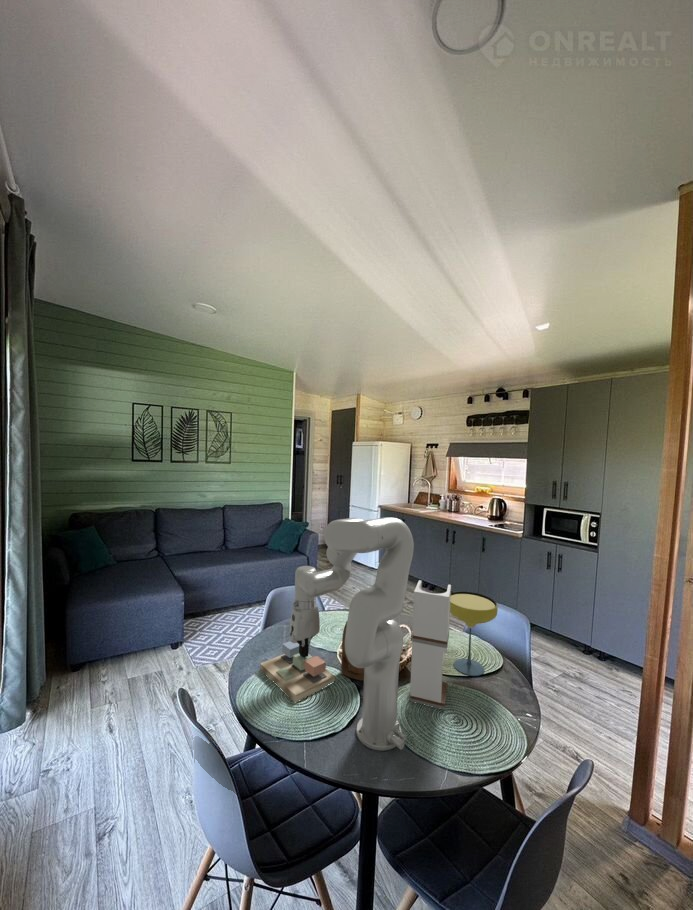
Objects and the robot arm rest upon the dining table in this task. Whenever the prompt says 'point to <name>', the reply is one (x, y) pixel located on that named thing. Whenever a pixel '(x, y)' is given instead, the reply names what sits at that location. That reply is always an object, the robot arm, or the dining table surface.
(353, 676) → the dark brown curved piece
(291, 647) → the grey square block
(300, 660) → the sage button
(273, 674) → the wooden sorting board
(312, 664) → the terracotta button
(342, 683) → the dining table surface
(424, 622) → the white square pillar
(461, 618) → the cocktail glass
